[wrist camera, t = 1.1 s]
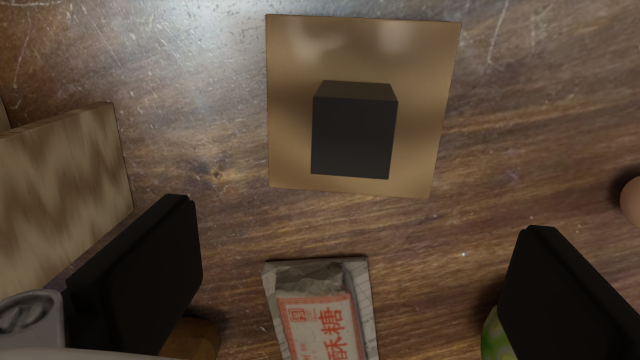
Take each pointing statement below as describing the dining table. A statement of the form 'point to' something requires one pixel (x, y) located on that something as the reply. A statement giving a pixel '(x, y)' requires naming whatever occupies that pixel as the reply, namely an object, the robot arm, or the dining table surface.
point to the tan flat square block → (358, 66)
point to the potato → (192, 340)
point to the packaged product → (322, 308)
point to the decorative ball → (495, 340)
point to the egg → (631, 201)
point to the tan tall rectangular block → (57, 192)
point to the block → (353, 129)
